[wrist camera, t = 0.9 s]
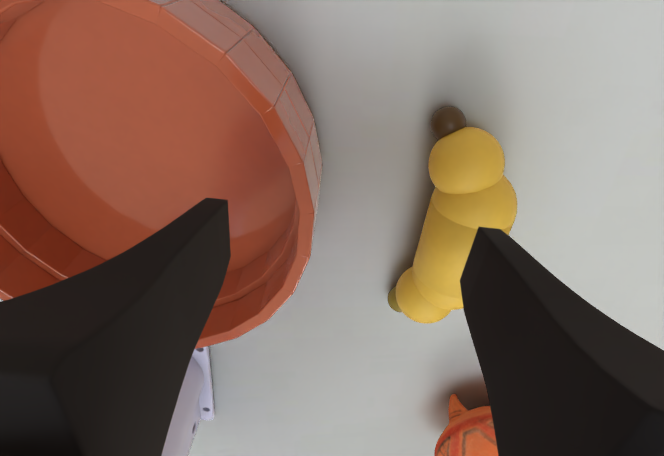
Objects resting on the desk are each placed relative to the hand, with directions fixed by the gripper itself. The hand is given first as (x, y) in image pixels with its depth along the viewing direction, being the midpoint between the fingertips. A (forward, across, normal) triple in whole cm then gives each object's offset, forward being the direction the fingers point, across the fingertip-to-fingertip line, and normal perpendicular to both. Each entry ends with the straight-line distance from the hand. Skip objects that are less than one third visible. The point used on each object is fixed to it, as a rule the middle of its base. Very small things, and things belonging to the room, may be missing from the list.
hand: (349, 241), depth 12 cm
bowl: (+9, +10, +3) cm, 13 cm away
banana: (+9, -6, +4) cm, 11 cm away
